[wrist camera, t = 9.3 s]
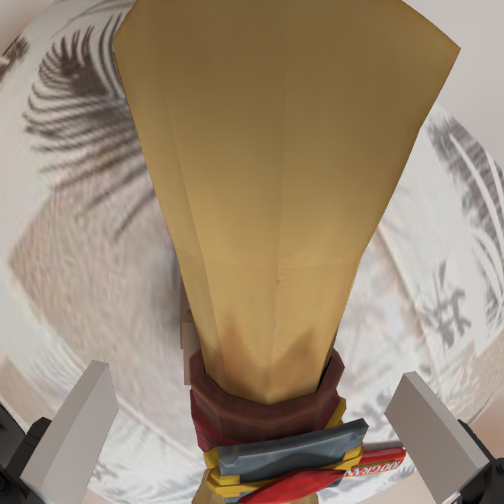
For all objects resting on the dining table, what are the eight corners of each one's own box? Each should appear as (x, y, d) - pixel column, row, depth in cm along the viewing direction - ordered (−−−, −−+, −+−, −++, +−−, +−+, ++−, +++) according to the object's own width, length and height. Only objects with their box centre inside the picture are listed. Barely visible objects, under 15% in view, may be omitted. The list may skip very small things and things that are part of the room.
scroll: (162, 86, 11) (53, -40, 1) (355, 94, 12) (504, 16, 2) (196, 467, 18) (190, 563, 8) (307, 463, 18) (330, 555, 9)
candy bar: (407, 443, 28) (414, 456, 25) (393, 457, 29) (400, 470, 26) (315, 450, 26) (320, 468, 23) (302, 465, 27) (307, 482, 24)
